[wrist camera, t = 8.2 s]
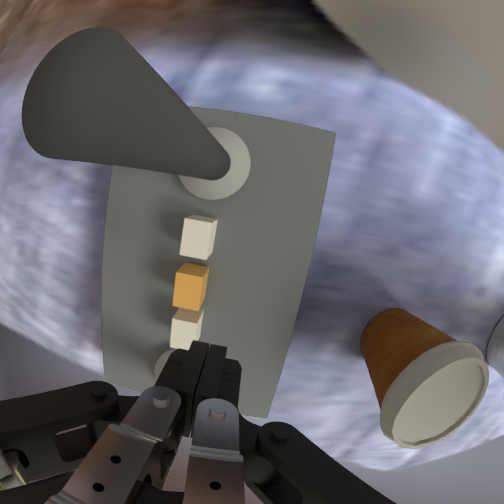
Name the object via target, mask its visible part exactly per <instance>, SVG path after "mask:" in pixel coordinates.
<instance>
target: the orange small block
mask: <svg viewBox="0 0 504 504" xmlns="http://www.w3.org/2000/svg"><path fill="white" fill-rule="evenodd" d="M208 274H209V267H206V266H201V265H196V264H191V263H185V264H184V265H183V266H182V267H181V268H180V269H179V270H178V271H177V272H176V278H175V287H174V296H173V306H176V307H180V308H185V309H190V310H194V311H199V309H200V307H201V305H202V303H203V301H204V299H205V293H206V287H207V280H208Z"/></svg>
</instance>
